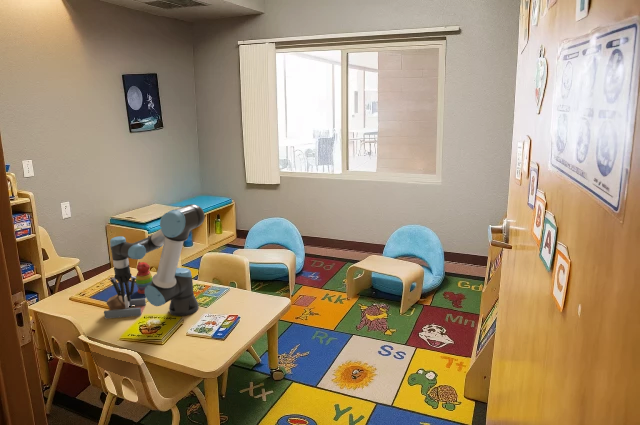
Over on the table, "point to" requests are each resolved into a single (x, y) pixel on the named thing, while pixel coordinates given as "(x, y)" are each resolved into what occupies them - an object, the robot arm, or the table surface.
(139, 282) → the stacking bear
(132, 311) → the trap trough
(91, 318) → the table surface
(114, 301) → the walnut block
